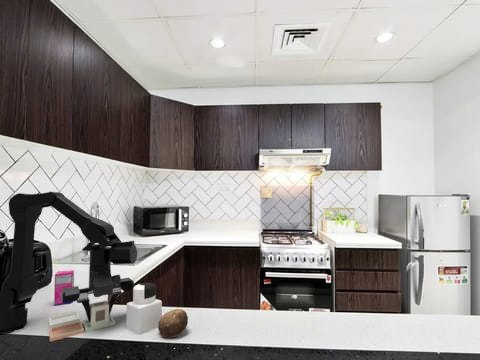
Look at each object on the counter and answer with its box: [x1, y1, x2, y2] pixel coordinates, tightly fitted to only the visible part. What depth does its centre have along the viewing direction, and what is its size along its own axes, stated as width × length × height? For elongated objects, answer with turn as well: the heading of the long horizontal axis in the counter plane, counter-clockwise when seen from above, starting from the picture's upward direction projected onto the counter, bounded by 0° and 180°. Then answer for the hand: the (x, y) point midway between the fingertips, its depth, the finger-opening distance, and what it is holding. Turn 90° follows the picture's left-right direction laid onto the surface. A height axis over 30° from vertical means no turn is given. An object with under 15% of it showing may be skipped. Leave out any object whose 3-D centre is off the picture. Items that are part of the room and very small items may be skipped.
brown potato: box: [157, 308, 189, 339], centre depth 71 cm, size 8×8×6 cm
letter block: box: [89, 300, 109, 327], centre depth 78 cm, size 4×5×6 cm
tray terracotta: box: [49, 320, 85, 342], centre depth 73 cm, size 8×8×1 cm
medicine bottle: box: [125, 282, 163, 335], centre depth 76 cm, size 7×7×12 cm
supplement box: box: [53, 268, 75, 307], centre depth 101 cm, size 6×6×12 cm
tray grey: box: [48, 311, 81, 330], centre depth 81 cm, size 8×8×1 cm
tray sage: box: [81, 313, 116, 333], centre depth 78 cm, size 8×8×1 cm
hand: (98, 319), depth 78 cm, fingers closed on letter block, 4 cm apart
